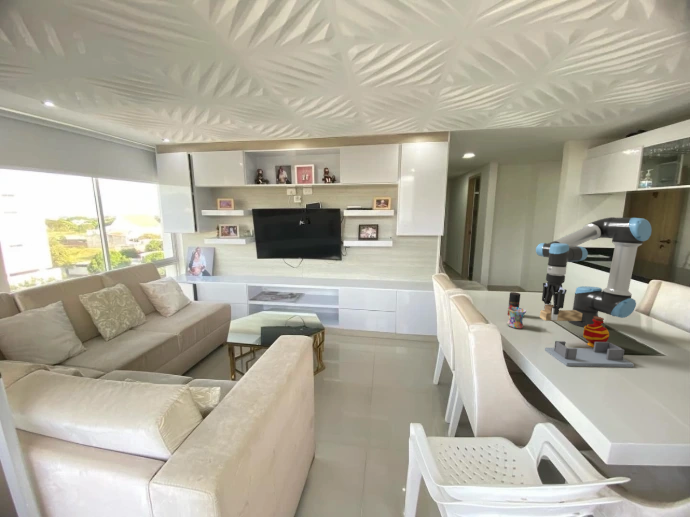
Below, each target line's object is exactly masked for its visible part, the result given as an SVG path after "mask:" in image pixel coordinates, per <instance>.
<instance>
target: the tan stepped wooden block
mask: <svg viewBox="0 0 690 517" xmlns="http://www.w3.org/2000/svg"><path fill="white" fill-rule="evenodd" d="M544 306H545V310H544V309H541V310H540V312H539V318H540V319H542V320H543V321H546V322H548V321H549V322H564V321H565V322H568V321H581V320H582V313H580V312H578V311H576V310H573V309H571V310H569V309H567V310H566V309H563V310H561V309H559V314H558V318H557V320H551V313H552V307H554V304H551V305H545V304H544Z"/></svg>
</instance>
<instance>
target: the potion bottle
mask: <svg viewBox="0 0 690 517" xmlns="http://www.w3.org/2000/svg"><path fill="white" fill-rule="evenodd" d="M593 317H594V319H593V322H594V324H588V325H587V326H585V327H583V333H582V336H583V338H584V339H585V340H586V341H587V346H589V347H590V348H594V343H595V342H608V340H609V339H610V338H609V337H610V332H609V330H608V328H607V327H605V326H604V325H603V324H604V320H605V319H604V317H601V316H598V317H597V316H593Z"/></svg>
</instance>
